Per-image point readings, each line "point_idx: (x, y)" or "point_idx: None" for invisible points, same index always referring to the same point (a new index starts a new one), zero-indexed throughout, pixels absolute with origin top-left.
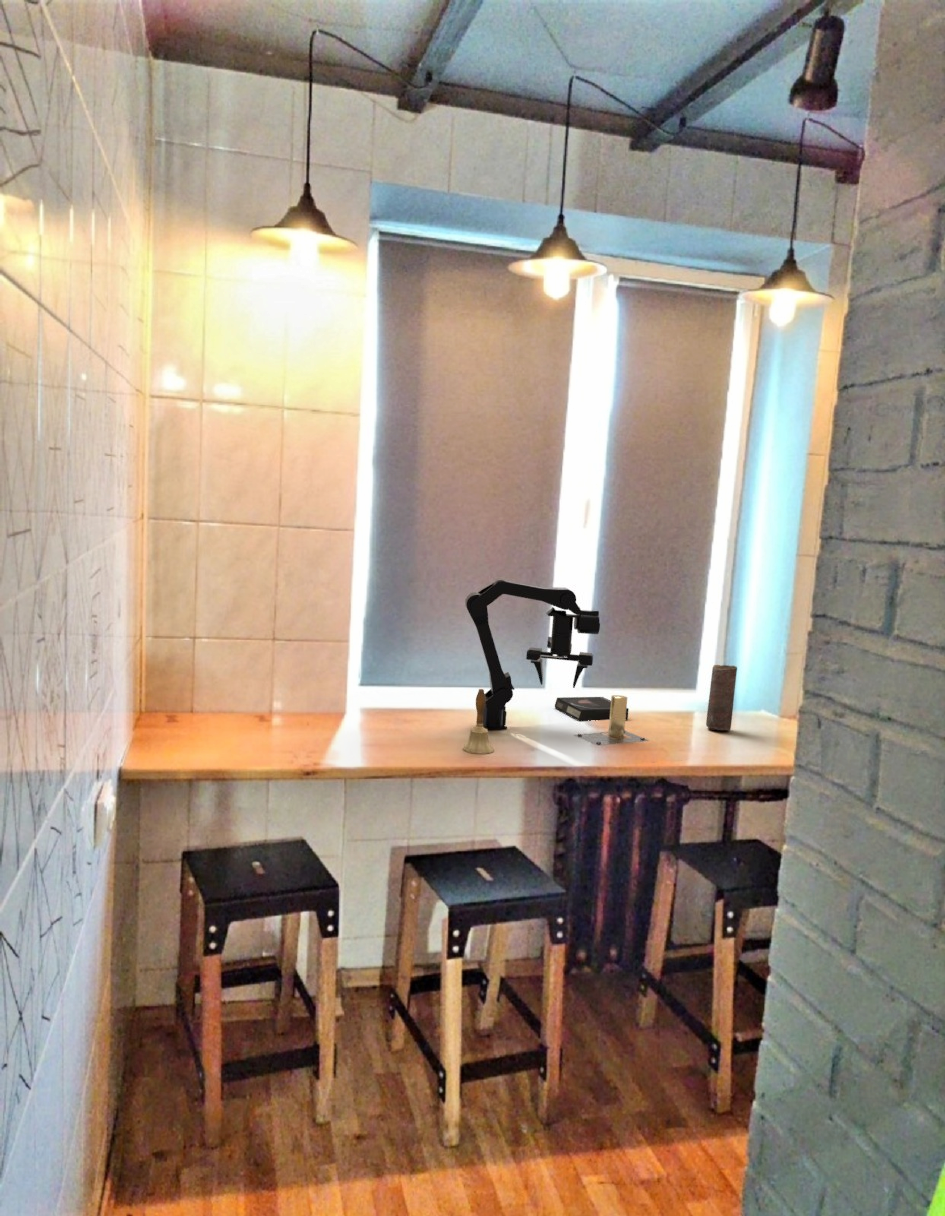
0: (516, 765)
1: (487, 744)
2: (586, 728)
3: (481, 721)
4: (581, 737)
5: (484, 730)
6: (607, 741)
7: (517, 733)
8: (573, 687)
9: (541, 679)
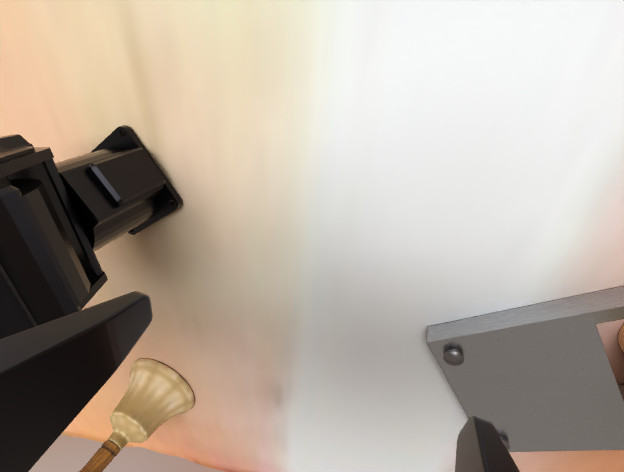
0: (249, 469)
1: (171, 416)
2: (612, 96)
3: (113, 457)
4: (453, 374)
5: (139, 442)
6: (559, 426)
7: (224, 251)
8: (462, 446)
9: (103, 373)
